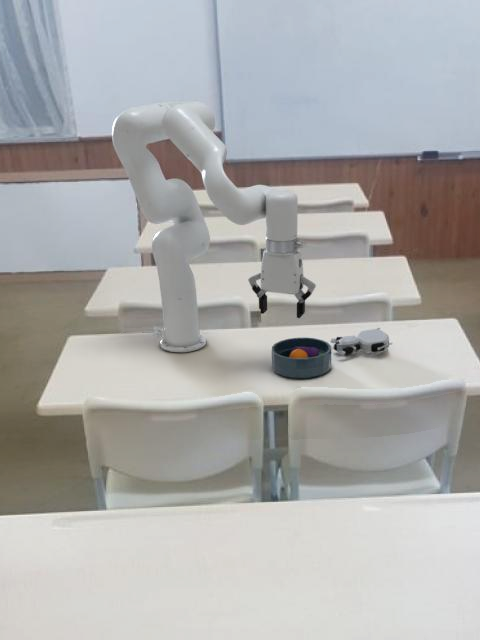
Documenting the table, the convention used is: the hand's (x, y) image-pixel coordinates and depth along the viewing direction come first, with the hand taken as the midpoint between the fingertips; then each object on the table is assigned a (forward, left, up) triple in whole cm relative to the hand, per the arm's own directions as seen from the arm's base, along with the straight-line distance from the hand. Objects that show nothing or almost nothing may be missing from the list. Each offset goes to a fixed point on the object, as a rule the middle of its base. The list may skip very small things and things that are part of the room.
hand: (281, 314), depth 214 cm
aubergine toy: (+6, 0, -12) cm, 13 cm away
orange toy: (+6, -4, -12) cm, 14 cm away
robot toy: (+17, +14, -14) cm, 26 cm away
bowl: (+5, -1, -13) cm, 15 cm away
